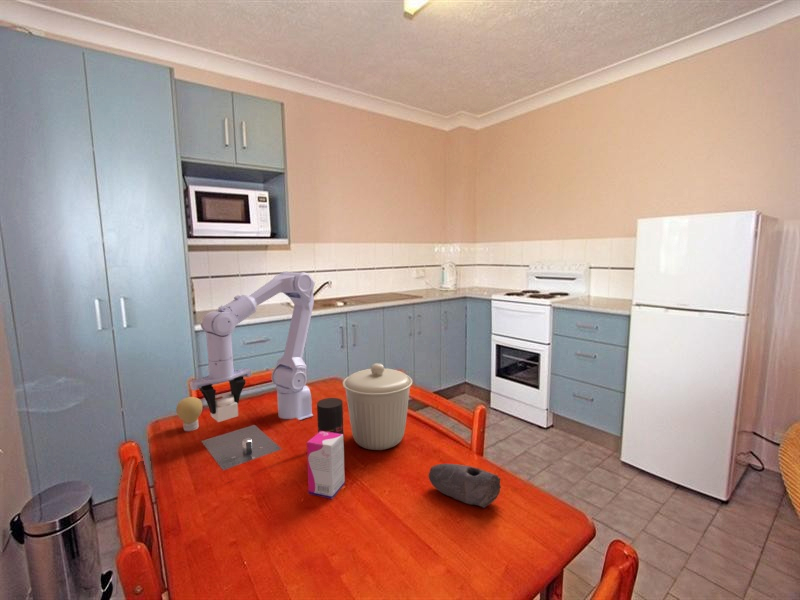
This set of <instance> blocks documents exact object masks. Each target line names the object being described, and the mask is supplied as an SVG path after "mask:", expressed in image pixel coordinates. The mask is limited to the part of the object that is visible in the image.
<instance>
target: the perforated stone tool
mask: <svg viewBox="0 0 800 600" xmlns="http://www.w3.org/2000/svg"><path fill="white" fill-rule="evenodd" d="M428 479H429V482H430V483H431V484H432V486H433V487H434V488H435V489H436V490H437V491H438V492H440V493H442V494H443V495H446V496H448V497H452V499H453V500H457V501H460V502H461V503H464V504H466V505H471V506H473V505H475V506H479V507H481V508H483V509H484V508H486V507H487V506H489V505H490V504H492V503H493V502H495V501H496V499H497V498H498V496H499V494H500V490H501V489H502V486H501V477H499V476H498V475H497V474H496V473H495V474H494V473H492V472H490V471H486V470H483V469H480V468H478V467H475V466H468V465H463V464H456V463H455V464H454V463H440V464H435V465H433V466H431V467H430V469H429V473H428Z"/></svg>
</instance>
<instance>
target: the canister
mask: <svg viewBox="0 0 800 600" xmlns="http://www.w3.org/2000/svg"><path fill="white" fill-rule="evenodd" d="M412 385H413V378H411V376H409V375H407V374H406V373H405V372H403V371H400V370H397V369H392V368H387V367H386V368H385V366H384V365H383V363H380V362H379V363H378V362H376V363H373V364H372V365H371V366H370V368H367V369H362V370H359V371H355V372H354V373H352V374H350V375H348V376H347V377H345V378H344V379H343V380H342V386H343V388H344V389H345V395H346V402H347V403H346V404H347V409H348V416H349V422H350V429H351V434H352V437H353V439H354V441H355V443H356V444H357V445H358V446H359V447H362V448H363V449H365V450H366V449H367V450H372V451H383V450H388V449H391V448H394V447H395V446H397V445H398V444H400V443H401V441H402V439H403V438H404V436H405V430H406V425H407V418H408V417H407V416H408V408H409V398H410V389H411V387H412Z"/></svg>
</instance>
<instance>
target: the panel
mask: <svg viewBox="0 0 800 600" xmlns="http://www.w3.org/2000/svg"><path fill="white" fill-rule="evenodd" d="M200 442H201V443H202V444H203V446H204V447H205V448H206V450H207V451H208V452H209V454H210V455H211V456H212V458H213V459H214V461H215V462H216V463H217V465H218V466H219V467H220V469H221V470H222V471H226V470H228V469H230V468H234V467H236V466H239V465H242V464H244V463H247V462H251V461H253V460H255V459H259V458H261V457H264V456H267V455H269V454H273V453H274V452H278V451H281V450H282V448H281V447H280V446H279V445H278V444H277V442H275V441H274V440H273V439H271V438H270V437H269V436H268V435H267V434H265V433H264V432H263V431H262V430H261V429H260V428H259V427H258V426H257V425H255V424H252V425H249V426H246V427H243V428H240V429H236V430H233V431H229V432H226V433H224V434H220V435H216V436H213V437H210V438H207V439H203V440H201V441H200Z"/></svg>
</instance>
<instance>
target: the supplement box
mask: <svg viewBox="0 0 800 600" xmlns="http://www.w3.org/2000/svg"><path fill="white" fill-rule="evenodd" d="M343 435H344V433H343V434H338V433H331V432H325V431H320V432H319V433H318V432H317V433H316V434H315V435H314V436H313V437H311V438H310V439H309V440H308V441H307V442H306V451H307V452H306V453H307V454H306V455H307V456H306V457H307V475H308V476H307V480H308V484H307V485H308V494H309V495H311V496H312V495H313V496H317V497H322V498H327V499H329V500H333V499H334V498H335V497H336V495H338V492H340V490H341V489H342V488H343V486H344V485H345V484H346V482H345V481H346V477H345V446H344V445H345V442H344V443H343Z"/></svg>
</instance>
